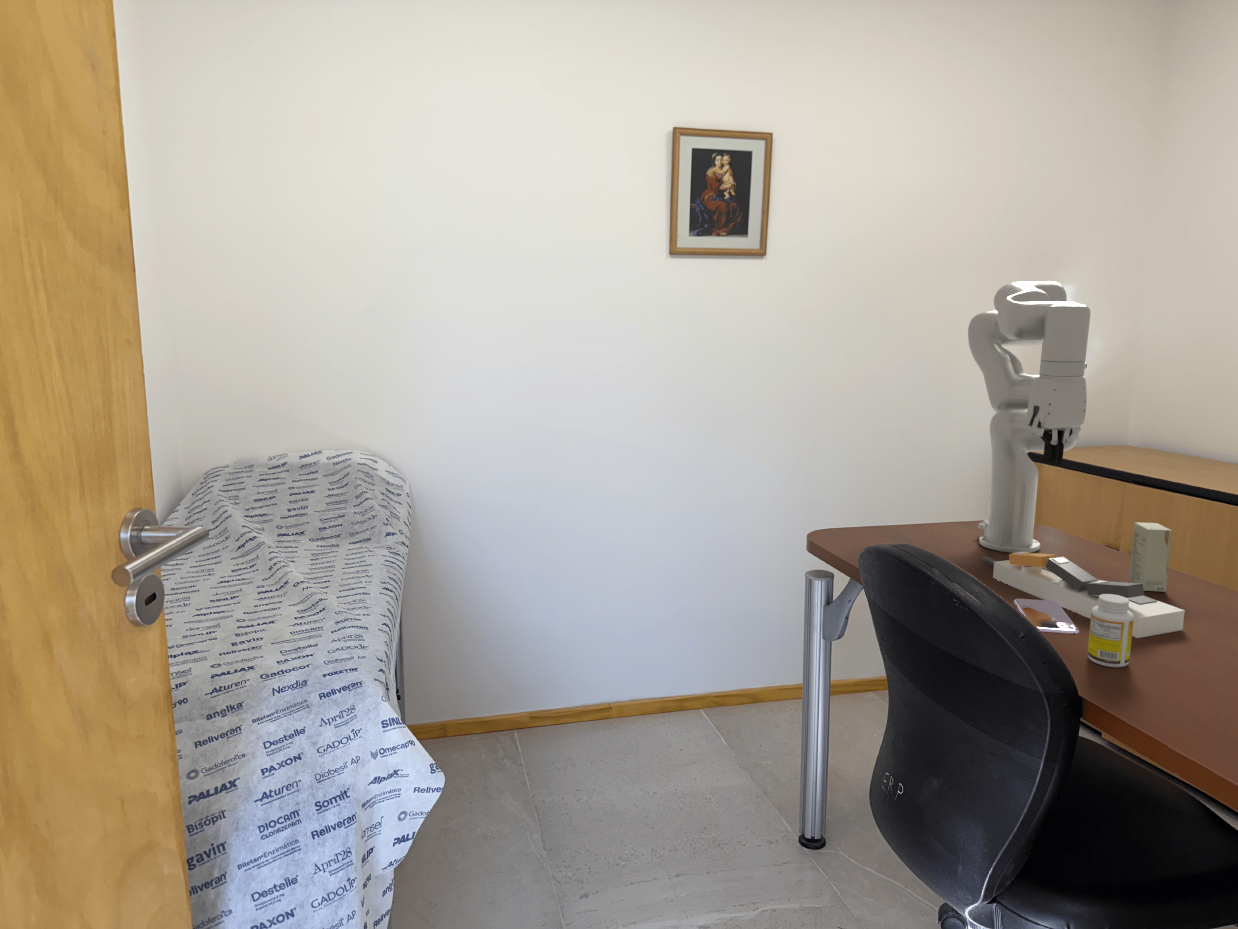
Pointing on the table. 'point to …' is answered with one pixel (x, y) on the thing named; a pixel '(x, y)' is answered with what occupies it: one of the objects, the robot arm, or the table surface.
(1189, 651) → the table surface
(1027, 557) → the rocker
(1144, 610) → the power strip
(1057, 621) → the mobile phone
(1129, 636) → the supplement bottle
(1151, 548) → the skincare box
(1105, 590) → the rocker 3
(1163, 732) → the table surface
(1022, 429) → the robot arm
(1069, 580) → the block
